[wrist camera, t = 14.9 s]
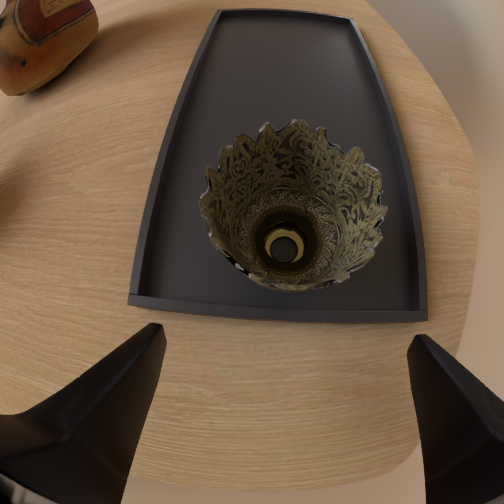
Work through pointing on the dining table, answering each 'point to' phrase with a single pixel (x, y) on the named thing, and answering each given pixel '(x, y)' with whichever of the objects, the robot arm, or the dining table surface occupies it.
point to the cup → (293, 207)
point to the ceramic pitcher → (42, 40)
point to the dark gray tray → (249, 122)
